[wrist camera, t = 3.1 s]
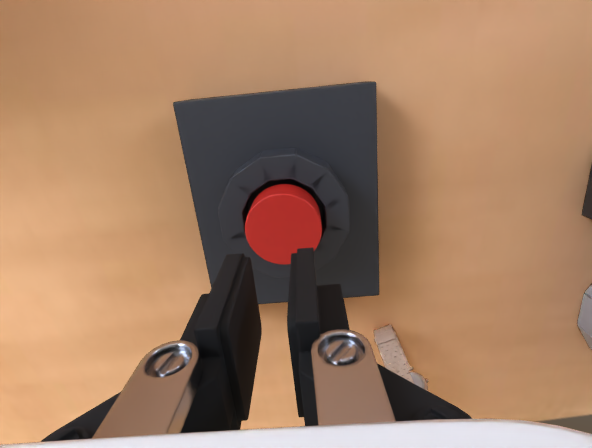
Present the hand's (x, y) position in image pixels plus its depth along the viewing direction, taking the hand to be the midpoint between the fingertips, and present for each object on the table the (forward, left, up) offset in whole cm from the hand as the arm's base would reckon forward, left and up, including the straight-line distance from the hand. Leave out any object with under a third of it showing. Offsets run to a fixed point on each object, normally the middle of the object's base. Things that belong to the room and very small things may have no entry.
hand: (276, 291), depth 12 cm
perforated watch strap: (+11, +6, -11) cm, 17 cm away
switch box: (0, 0, -11) cm, 11 cm away
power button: (0, 0, -7) cm, 7 cm away
